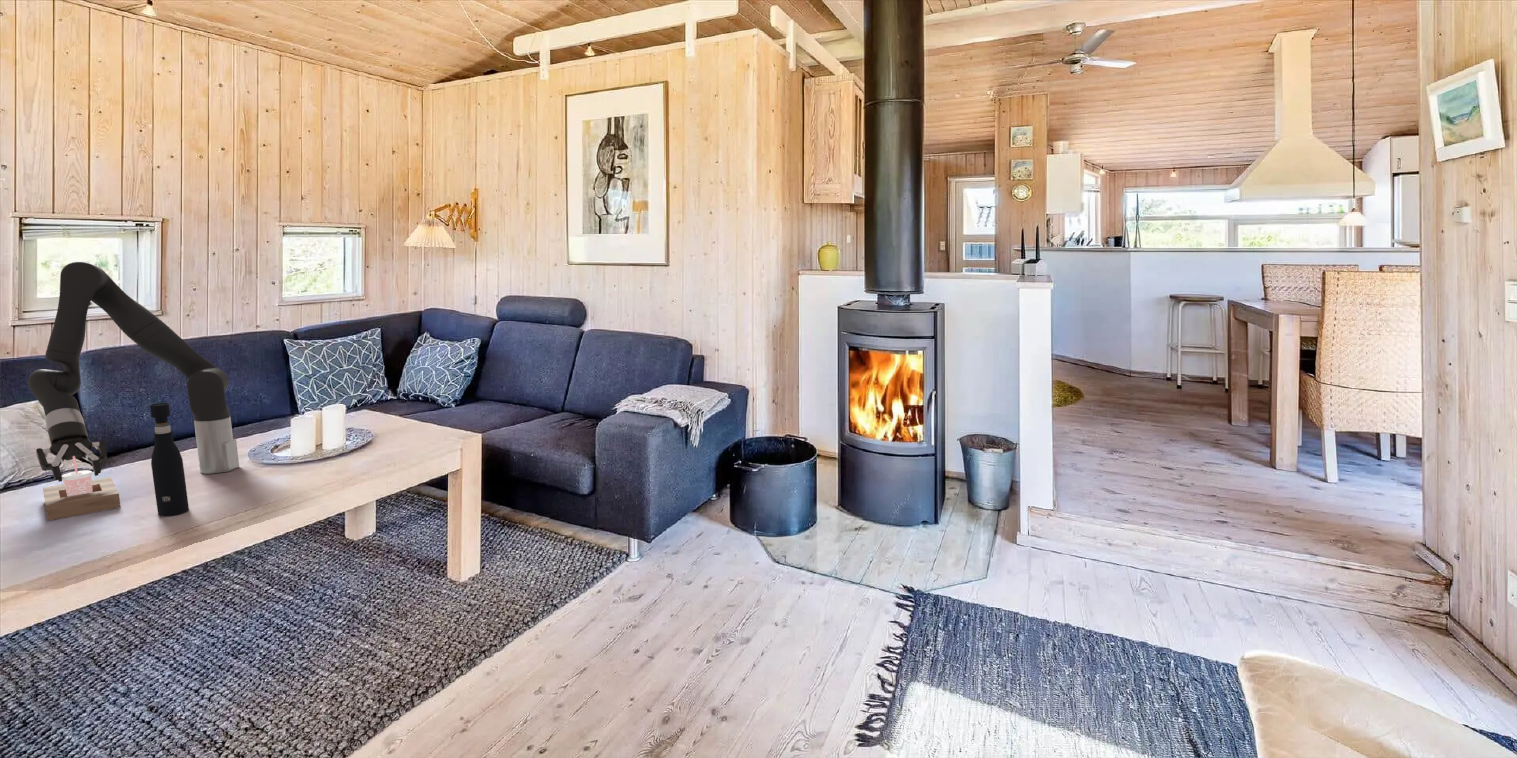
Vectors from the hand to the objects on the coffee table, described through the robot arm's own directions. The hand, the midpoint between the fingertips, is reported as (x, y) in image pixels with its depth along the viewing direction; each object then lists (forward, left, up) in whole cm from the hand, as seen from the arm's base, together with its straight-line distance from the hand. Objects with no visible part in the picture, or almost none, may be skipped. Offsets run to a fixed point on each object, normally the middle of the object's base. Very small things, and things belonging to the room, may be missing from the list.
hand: (78, 476), depth 187 cm
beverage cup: (+1, -1, -9) cm, 9 cm away
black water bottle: (-27, +9, -8) cm, 30 cm away
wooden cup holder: (+1, -1, -8) cm, 8 cm away
